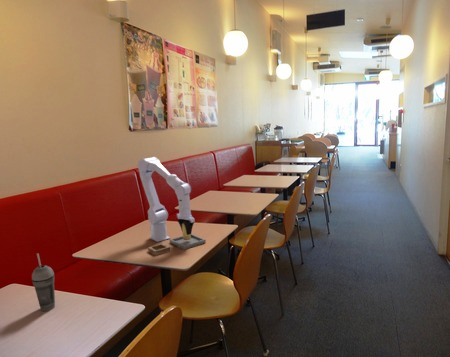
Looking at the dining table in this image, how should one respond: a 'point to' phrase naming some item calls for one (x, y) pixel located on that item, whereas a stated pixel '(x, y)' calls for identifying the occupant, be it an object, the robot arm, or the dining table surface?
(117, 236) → the dining table surface
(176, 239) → the tray
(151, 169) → the robot arm
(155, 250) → the socket block
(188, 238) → the pin
